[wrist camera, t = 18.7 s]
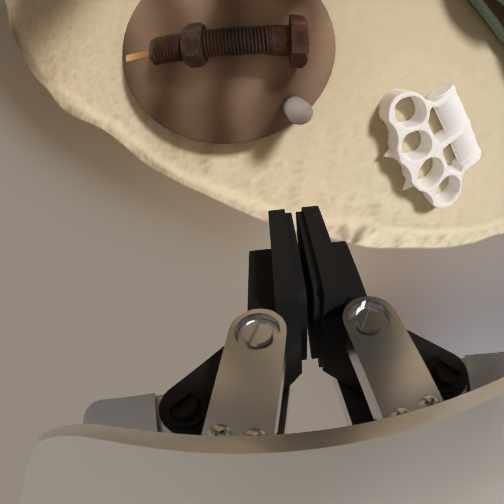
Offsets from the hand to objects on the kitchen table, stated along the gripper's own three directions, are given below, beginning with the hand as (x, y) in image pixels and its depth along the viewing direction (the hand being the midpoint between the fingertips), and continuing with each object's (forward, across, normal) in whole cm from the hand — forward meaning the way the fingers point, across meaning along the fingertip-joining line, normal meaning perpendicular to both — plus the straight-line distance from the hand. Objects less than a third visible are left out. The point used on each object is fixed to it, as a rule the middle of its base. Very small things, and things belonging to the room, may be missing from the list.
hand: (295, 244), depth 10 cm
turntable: (+26, +3, -9) cm, 28 cm away
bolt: (+24, +3, -9) cm, 25 cm away
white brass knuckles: (+26, -22, +4) cm, 34 cm away
